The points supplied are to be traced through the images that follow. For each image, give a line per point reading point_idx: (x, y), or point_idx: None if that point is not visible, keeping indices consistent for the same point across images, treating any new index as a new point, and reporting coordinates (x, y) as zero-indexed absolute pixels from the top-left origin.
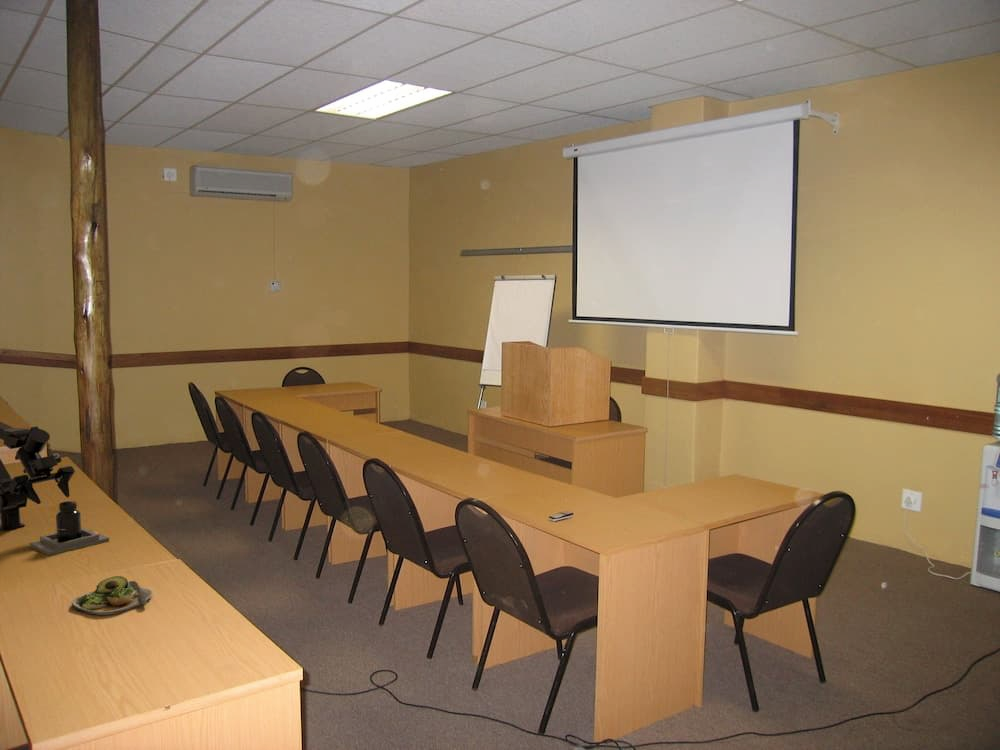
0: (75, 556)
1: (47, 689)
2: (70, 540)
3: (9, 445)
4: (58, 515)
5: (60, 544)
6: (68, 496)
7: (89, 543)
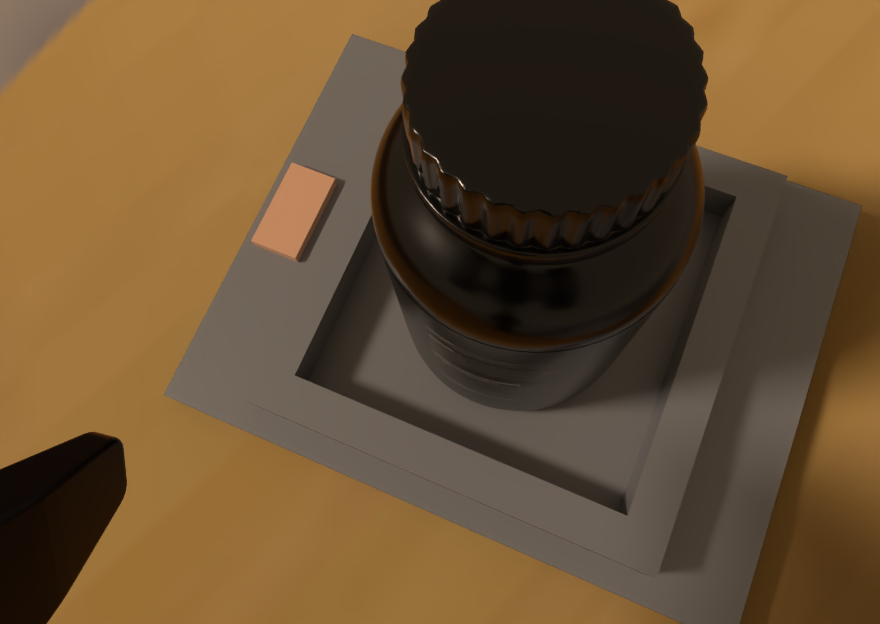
0: (760, 15)
1: None
2: None
3: None
4: (700, 203)
5: (755, 166)
6: (117, 450)
7: None
